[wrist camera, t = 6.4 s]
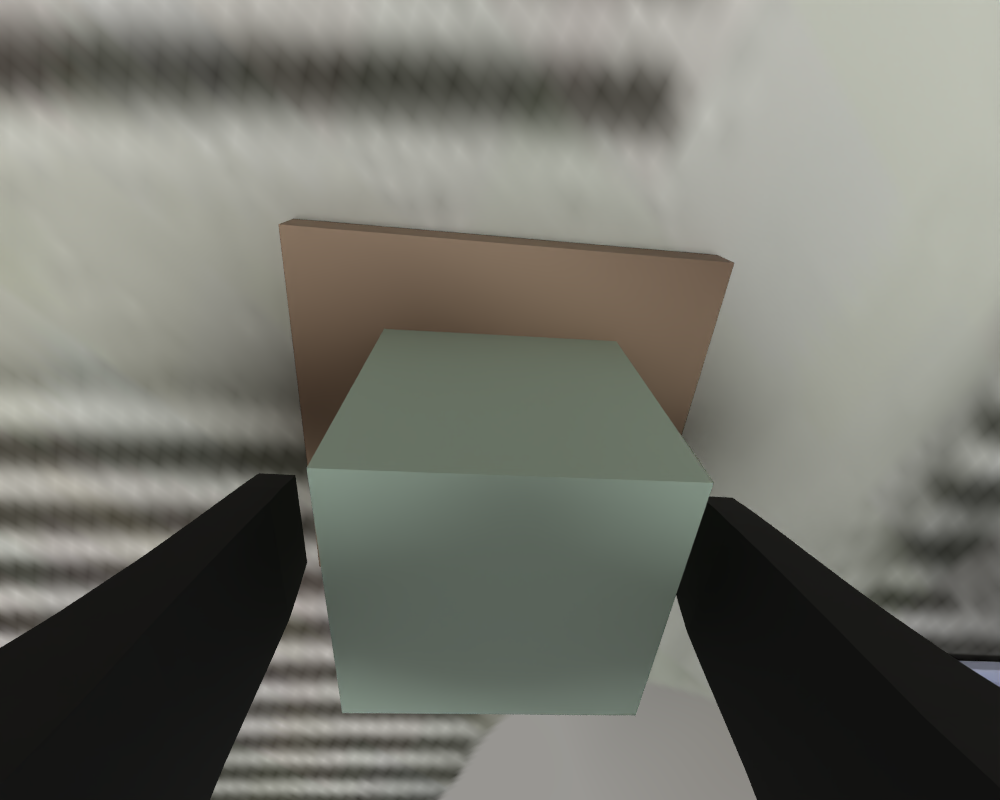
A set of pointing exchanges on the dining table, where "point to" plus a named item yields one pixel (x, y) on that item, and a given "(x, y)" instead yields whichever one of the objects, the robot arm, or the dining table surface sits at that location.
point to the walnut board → (490, 303)
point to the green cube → (500, 526)
